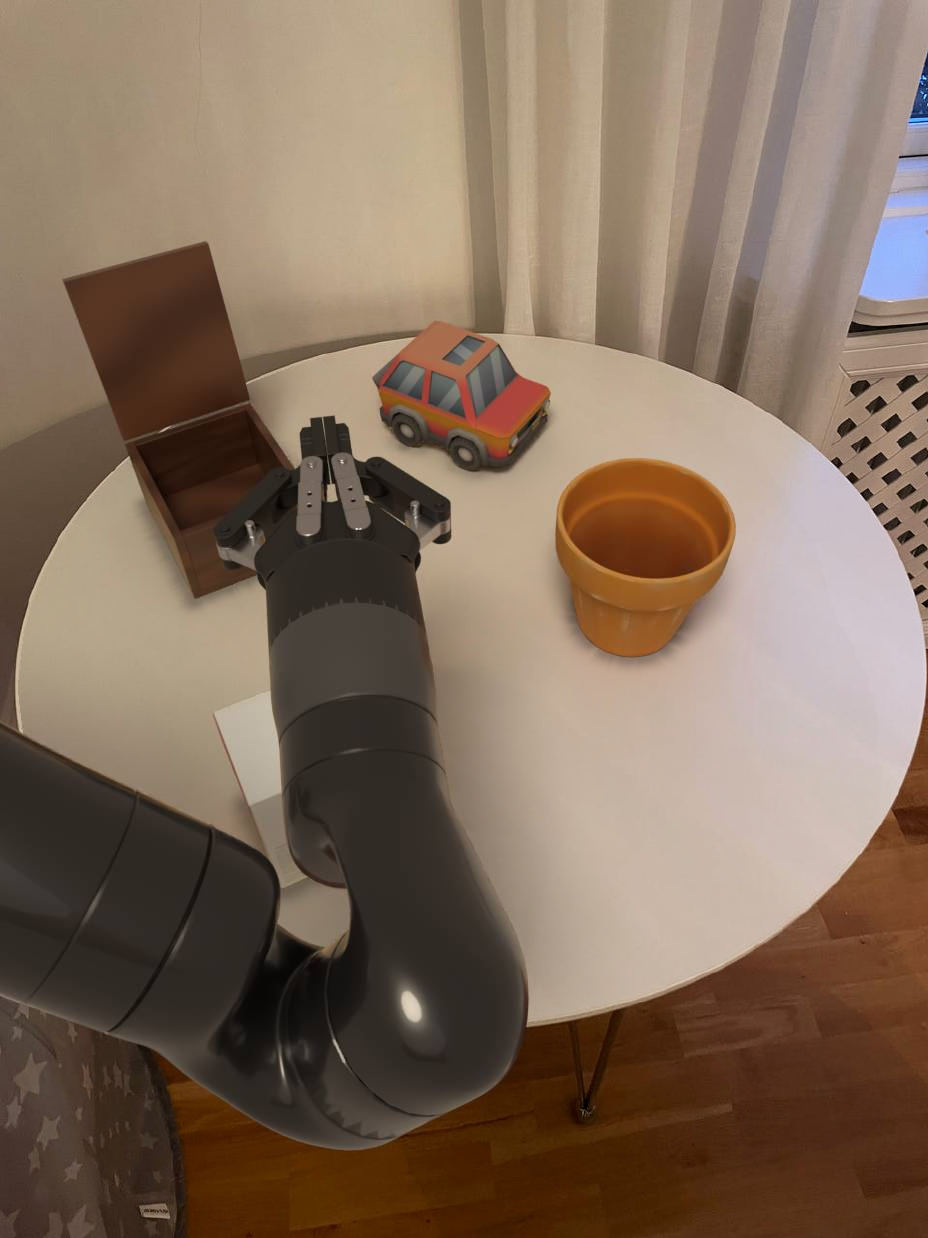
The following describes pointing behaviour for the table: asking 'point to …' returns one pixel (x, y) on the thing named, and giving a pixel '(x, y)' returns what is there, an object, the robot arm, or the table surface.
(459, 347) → the toy car
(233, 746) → the small box
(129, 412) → the lid
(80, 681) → the table surface
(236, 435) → the case
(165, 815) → the robot arm
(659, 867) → the table surface
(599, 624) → the flower pot
